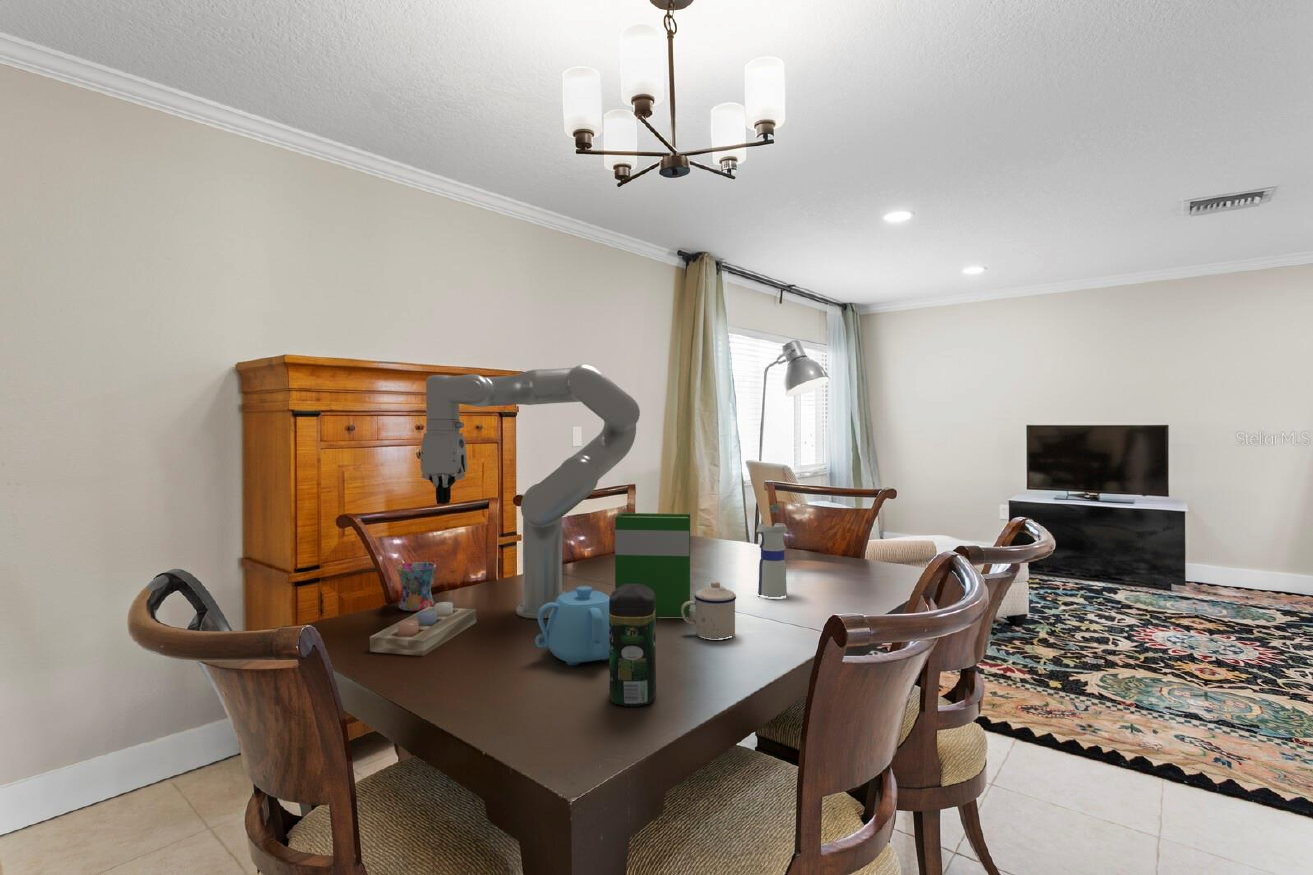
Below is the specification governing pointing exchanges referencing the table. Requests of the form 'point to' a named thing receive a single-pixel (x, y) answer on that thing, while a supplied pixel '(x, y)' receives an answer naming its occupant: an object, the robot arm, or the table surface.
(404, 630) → the button terracotta
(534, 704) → the table surface
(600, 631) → the decorative pot
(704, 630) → the teacup with lid
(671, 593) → the hardback book
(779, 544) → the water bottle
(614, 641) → the coffee jar
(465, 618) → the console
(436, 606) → the button ivory
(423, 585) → the multicolour ceramic cup
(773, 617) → the table surface
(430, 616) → the button slate
